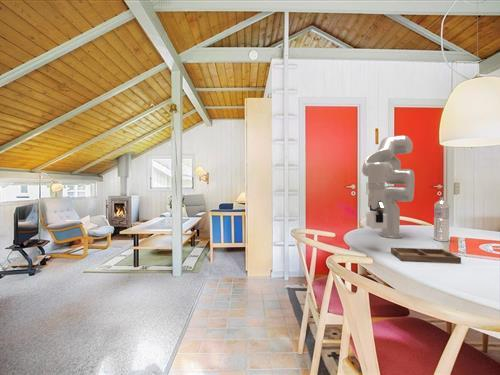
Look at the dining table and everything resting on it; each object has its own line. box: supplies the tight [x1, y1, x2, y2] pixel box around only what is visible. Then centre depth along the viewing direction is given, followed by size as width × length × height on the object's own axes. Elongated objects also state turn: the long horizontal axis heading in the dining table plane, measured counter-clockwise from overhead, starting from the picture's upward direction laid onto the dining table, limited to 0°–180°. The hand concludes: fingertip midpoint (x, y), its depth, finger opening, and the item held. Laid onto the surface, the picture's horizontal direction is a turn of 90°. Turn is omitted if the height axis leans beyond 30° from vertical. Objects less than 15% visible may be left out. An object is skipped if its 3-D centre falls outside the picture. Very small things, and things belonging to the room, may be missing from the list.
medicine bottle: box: [365, 204, 387, 230], centre depth 120 cm, size 7×7×12 cm
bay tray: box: [390, 247, 462, 264], centre depth 108 cm, size 12×23×2 cm, turn 80°
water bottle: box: [433, 197, 450, 243], centre depth 135 cm, size 7×7×25 cm
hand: (376, 220), depth 121 cm, fingers closed on medicine bottle, 7 cm apart
